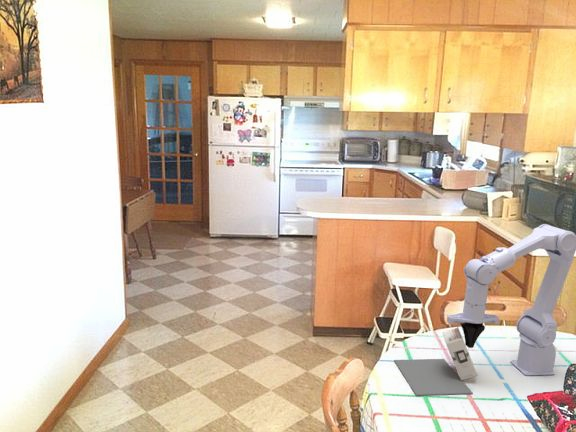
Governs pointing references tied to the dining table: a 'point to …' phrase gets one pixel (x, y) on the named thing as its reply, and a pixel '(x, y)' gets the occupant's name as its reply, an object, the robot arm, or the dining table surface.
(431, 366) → the rubber mat
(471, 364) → the ink box
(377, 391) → the dining table surface
